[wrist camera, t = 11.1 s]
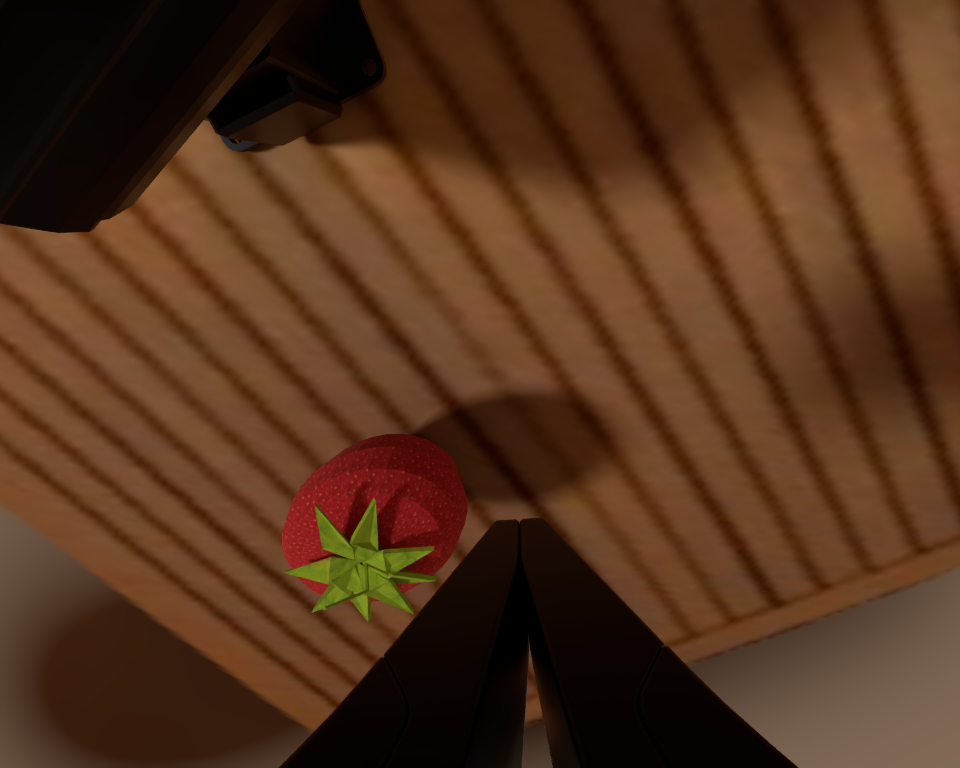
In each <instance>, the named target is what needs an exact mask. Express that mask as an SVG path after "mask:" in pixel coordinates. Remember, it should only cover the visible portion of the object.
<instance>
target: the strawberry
mask: <svg viewBox="0 0 960 768" xmlns="http://www.w3.org/2000/svg"><path fill="white" fill-rule="evenodd" d="M466 516H467V497H466V494H465V491H464V488H463V485H462V482H461V479H460V476H459V473H458V470H457V467H456V464H455V463H454V461H453V460H452V458H451V457H450V455H449V454H448V453H447V452H446V451H444V450H443V449H442V448H441V447H440V446H438V445H436V444H435V443H433V442H431V441H429V440H427V439H423V438H420V437H417V436H412V435H405V434H386V435H381V436H376V437H371V438H368V439H365V440H362V441H360V442H357V443H355V444H353V445H352V446H350V447H348V448H346V449H345V450H343V451H342V452H340V453H339V454H338V455H336V456H335V457H334V458H332V459H331V460H330V461H328V462H327V463H326V464H324V465H323V466H322V467H321V468H319V469H318V470H317V471H315V472H314V473H313V474H312V475H310V476H309V478H308V479H307V480H306V481H305V482H304V483H303V485H302V486H301V487H300V488H299V490H298V492H297V494H296V496H295V497H294V499H293V501H292V504H291V507H290V510H289V513H288V516H287V518H286V521H285V525H284V529H283V532H282V547H283V551H284V555H285V558H286V560H287V562H288V563H289V565H290V567H291V569H292V570H289V571H286V572H284V573H287V574H290V575H294V576H297V577H298V578H299V579H300V580H301V581H302V582H303V583H304V584H305V585H306V586H307V587H309V588H310V589H312V590H313V591H314V592H316V593H318V594H321V595H322V597H321V598H320V600H319V601H318V603H317V604H316V606H315V608H314V609H313V611H312V612H315V611H317V610H320V609H322V608H323V610H327V609H329V608H332V607H334V606H336V605H339V604H341V603H344V602H352V603H353V604H354V605H355V606H356V607H357V609H358V610H359V611H360V612H361V614H362V615H363V616H364V618H365V619H366V620H367V621H368V622H369V621H370V620H371V602H374V601H382V602H384V603H387V604H389V605H392V606H394V607H397V608H399V609H402V610H404V611H406V612H409V613H411V614H414V611H415V610H414V609H413V608H412V606H411V605H410V603H409V602H408V601H407V599H406V598H405V597H404V595H403V594H402V593H404V592H406V591H408V590H410V589H412V588H414V587H415V586H417V585H419V584H420V583H422V582H429V581H437V576H433V575H434V574H435V573H436V572H437V571H438V570H439V569H441V568H442V566H443V565H444V564H445V563H446V561H447V560H448V559H449V558H450V556H451V554H452V552H453V550H454V548H455V546H456V544H457V542H458V539H459V537H460V534H461V532H462V529H463V527H464V524H465V520H466ZM312 612H311V613H312Z"/></svg>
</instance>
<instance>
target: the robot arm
mask: <svg viewBox="0 0 960 768" xmlns="http://www.w3.org/2000/svg"><path fill="white" fill-rule="evenodd" d="M368 61H374V62H375V63H376V68H377V69H376V72H375V74H373V75H372V76H367V74H366V73H365V65H366V63H367V62H368ZM385 76H386V66H385V62H384V60H383V57H382V55H381V52H380V50H379V48H378V45H377V43H376V40H375V38H374V35H373V33H372V30H371V28H370V25H369V23H368V20H367V18H366V15H365V13H364V11H363V8H362V6H361V3H360V1H359V0H0V224H5V225H11V226H17V227H23V228H29V229H36V230H42V231H49V232H56V233H67V232H90V231H92V230H94V229H95V227H96V226H97V225H98V224H99V222H100V221H101V220H106V219H110V218H112V217H114V216H115V215H117V214H119V213H121V212H122V211H124V210H126V209H127V208H129V207H131V206H132V205H133V204H134V203H135V202H136V200H137V199H138V198H139V197H140V196H141V194H142V193H143V192H144V191H145V190H146V188H147V187H148V186H149V185H150V184H151V183H152V181H153V180H154V179H155V178H156V177H157V175H158V174H159V173H160V172H161V171H162V169H163V168H164V167H165V166H166V165H167V163H168V162H169V161H170V160H171V159H172V157H173V156H174V155H175V154H176V153H177V151H178V150H179V149H180V148H181V147H182V145H183V144H184V143H185V142H186V141H187V139H188V138H189V137H190V136H191V135H192V133H193V132H194V131H195V130H196V129H197V127H198V126H199V125H200V124H201V123H202V121H203V120H207V121H209V122H210V123H211V125H212V127H213V129H214V131H215V132H216V133H217V134H219V135H220V137H221V138H222V140H223V142H224V143H225V145H226V146H227V147H228V148H230V149H231V150H233V151H237V152H246V151H249V150H251V149H253V148H255V147H257V146H259V145H261V144H263V143H266V144H274V145H285V144H287V143H289V142H291V141H293V140H295V139H297V138H299V137H301V136H303V135H305V134H307V133H309V132H311V131H313V130H315V129H317V128H319V127H321V126H323V125H326V124H328V123H330V122H332V121H334V120H336V119H338V118H339V117H340V116H341V113H342V110H343V108H342V105H341V104H342V103H344V102H346V101H348V100H350V99H352V98H354V97H356V96H358V95H360V94H362V93H364V92H366V91H368V90H370V89H372V88H374V87H376V86H378V85H379V84H381V83H382V82H383V80H384V78H385ZM235 139H236V140H241V142H240V143H239V144H238V143H237V142H236V141H235ZM528 634H529V635H528ZM529 643H530V651H531V657H532V663H533V669H534V674H535V679H536V684H537V689H538V694H539V699H540V704H541V710H542V715H543V720H544V725H545V730H546V735H547V740H548V745H549V750H550V756H551V761H552V765H553V768H798V767H797V766H796V765H795V764H794V763H792V762H791V761H790V760H789V759H788V758H787V757H785V756H784V755H783V754H782V753H781V752H780V751H778V750H777V749H776V748H775V747H774V746H773V745H771V744H770V743H769V742H768V741H767V740H766V739H765V738H764V737H762V736H761V735H760V734H759V733H758V732H757V731H756V730H755V729H753V728H752V727H751V726H750V725H749V724H748V723H747V722H745V721H744V720H743V719H742V718H741V717H740V716H739V715H738V714H737V713H736V712H734V711H733V710H732V709H731V708H730V707H729V706H728V705H726V704H725V703H724V702H723V701H722V700H721V699H720V698H719V697H718V696H717V695H716V694H715V693H714V692H713V691H712V690H711V689H710V688H709V687H708V686H707V685H706V684H705V683H704V682H703V681H702V680H701V679H700V678H699V677H698V676H697V675H696V674H694V672H693V671H691V669H689V667H688V666H687V665H686V664H685V663H684V662H683V661H682V660H681V659H680V658H679V657H678V656H677V655H676V654H675V653H674V652H673V651H672V650H671V649H670V648H669V647H668V646H664V643H663V642H662V641H661V640H660V639H659V638H658V637H657V636H656V634H655V633H654V632H653V631H652V630H651V629H650V628H649V627H648V626H647V625H646V624H645V623H644V622H643V621H642V620H641V619H640V618H639V617H638V616H637V615H636V614H635V613H634V612H633V611H632V610H631V609H630V608H629V606H628V605H627V604H626V603H625V602H624V601H623V600H622V599H621V598H620V597H619V596H618V595H617V594H616V593H615V592H614V591H613V590H612V589H611V588H610V587H609V586H608V585H607V584H606V583H605V582H604V581H603V580H602V579H601V577H600V576H599V575H598V574H597V573H596V572H595V571H594V570H593V569H592V568H591V567H590V566H589V565H588V564H587V563H586V562H585V561H584V560H583V559H582V558H581V557H580V556H579V555H578V554H577V553H576V552H575V551H574V549H573V548H572V547H571V546H570V545H569V544H568V543H567V542H566V541H565V540H564V539H563V538H562V537H561V536H560V535H559V534H558V533H557V532H556V531H555V530H554V529H553V528H552V527H551V526H550V525H549V524H548V523H547V521H546V520H545V519H543V518H529V519H522V520H521V521H520V524H519V522H518V520H515V519H514V520H499V521H496V522H495V523H494V524H493V525H492V526H491V527H490V528H489V529H488V531H487V532H486V533H485V534H484V535H483V537H482V538H481V539H480V540H479V541H478V543H477V544H476V545H475V546H474V547H473V549H472V550H471V551H470V552H469V553H468V555H467V556H466V557H465V558H464V559H463V561H462V562H461V563H460V564H459V565H458V567H457V568H456V569H455V570H454V571H453V572H452V574H451V575H450V576H449V577H448V578H447V580H446V581H445V582H444V583H443V584H442V586H441V587H440V588H439V589H438V590H437V592H436V593H435V594H434V595H433V596H432V598H431V599H430V600H429V601H428V602H427V604H426V605H425V606H424V607H423V608H422V609H421V611H420V612H419V613H418V614H417V615H416V617H415V618H414V619H413V620H412V621H411V623H410V624H409V625H408V626H407V627H406V629H405V630H404V631H403V632H402V633H401V635H400V636H399V637H398V638H397V639H396V641H395V642H394V643H393V644H392V645H391V646H390V648H389V649H388V650H387V651H386V652H385V654H384V658H383V657H381V658H379V659H378V661H377V662H376V663H375V664H374V665H373V667H372V668H371V669H370V670H369V671H368V673H367V674H366V675H365V676H364V677H363V678H362V680H361V681H360V682H359V683H358V684H357V685H356V686H355V688H354V689H353V690H352V691H351V692H350V693H349V694H348V695H347V697H346V698H345V699H344V700H343V701H342V702H341V703H340V704H339V706H338V707H337V708H336V709H335V710H334V711H333V712H332V714H331V715H330V716H329V717H328V718H327V719H326V720H325V721H324V722H323V723H322V724H321V725H320V726H319V727H318V728H317V729H316V730H315V731H314V732H313V733H312V734H311V735H310V736H309V737H308V738H307V739H306V740H305V741H304V742H303V744H302V745H301V746H300V747H299V748H298V749H297V750H296V751H295V752H294V753H293V754H292V755H291V756H290V757H289V758H288V759H287V760H286V761H285V762H284V763H283V764H282V765H281V766H280V767H279V768H522V755H523V739H524V724H525V709H526V694H527V678H528V662H529Z"/></svg>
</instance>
